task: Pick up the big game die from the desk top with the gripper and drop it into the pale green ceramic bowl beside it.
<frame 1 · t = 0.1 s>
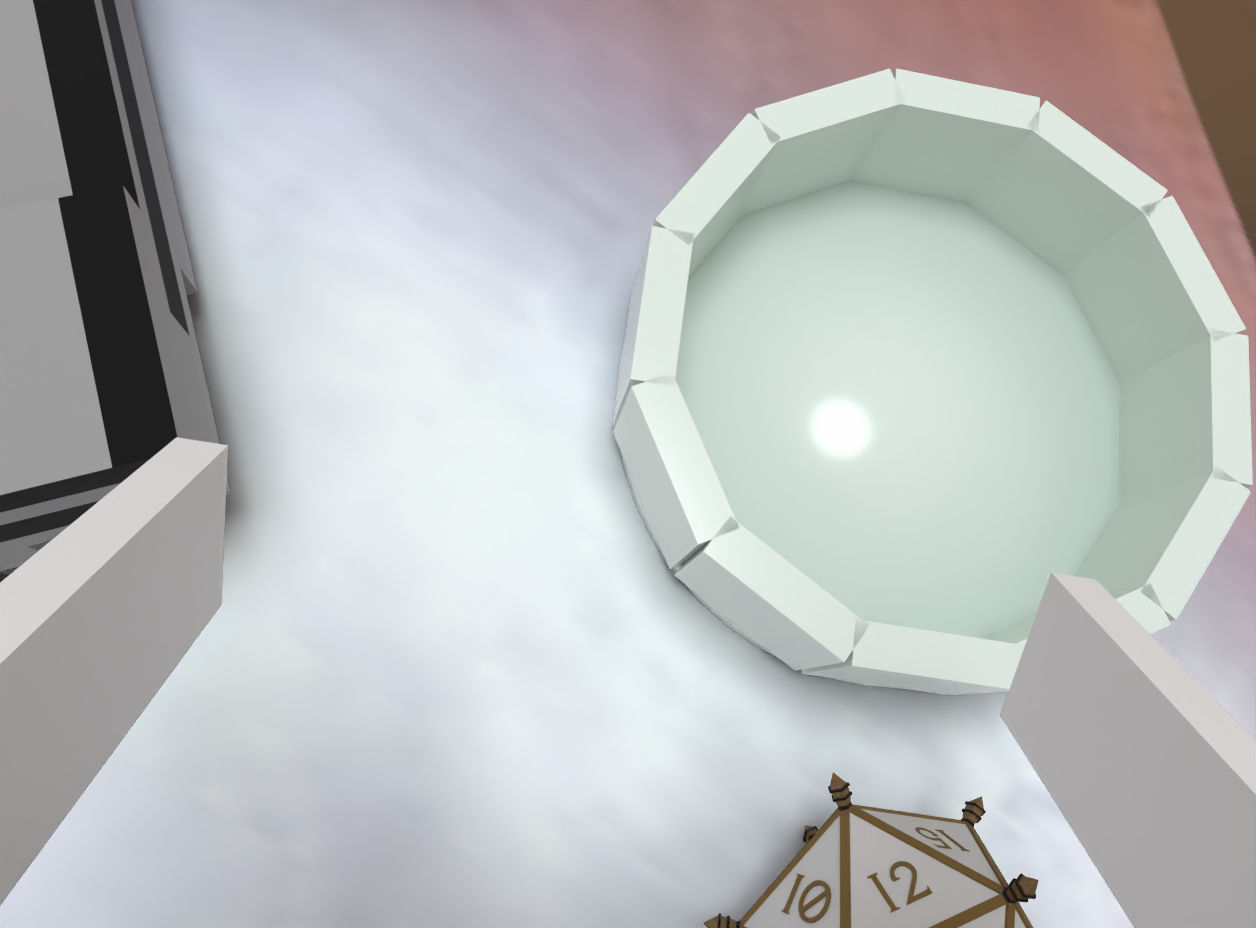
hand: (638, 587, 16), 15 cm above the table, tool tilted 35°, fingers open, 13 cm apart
game die: (843, 925, 30), on the table
bowl: (882, 413, 34), on the table
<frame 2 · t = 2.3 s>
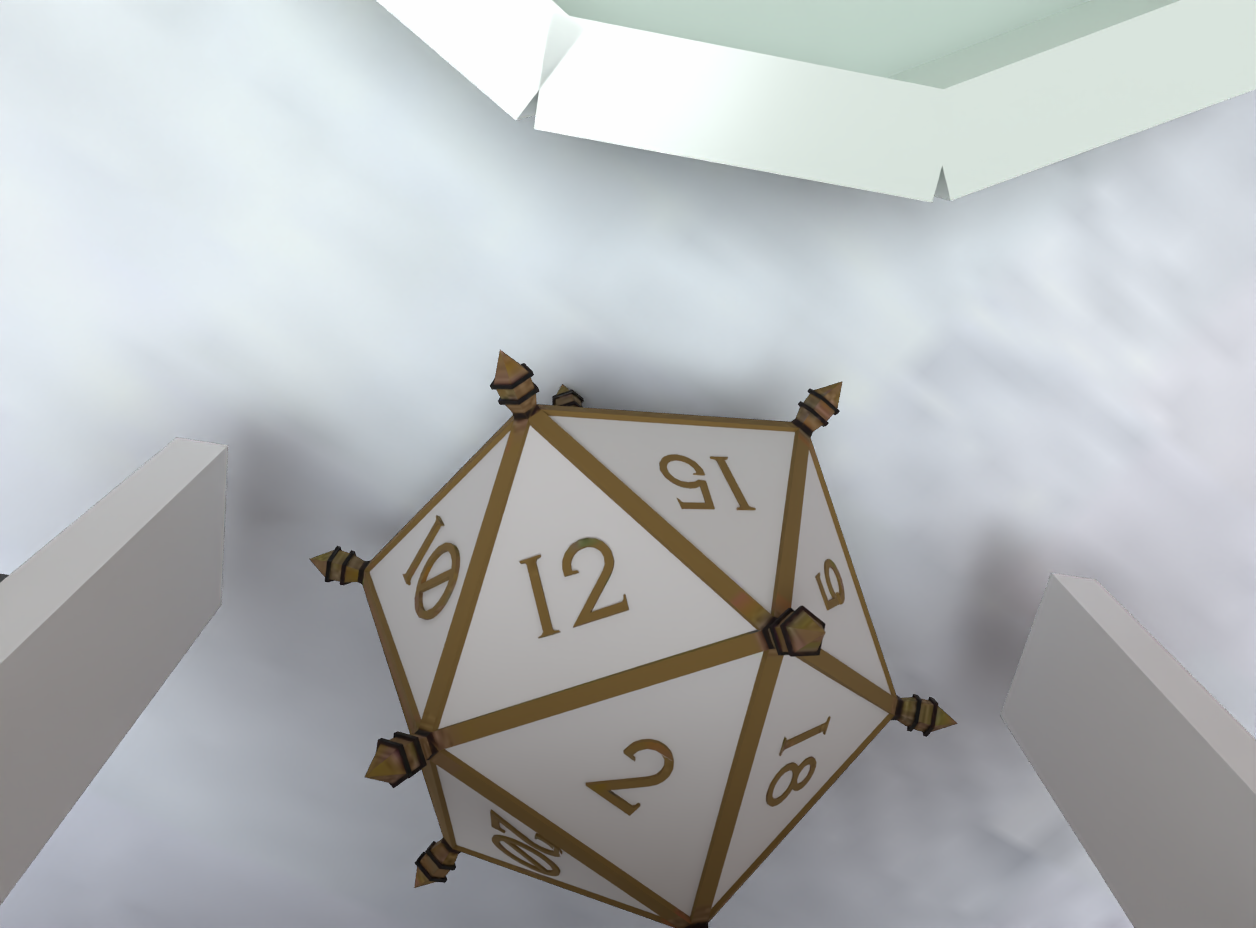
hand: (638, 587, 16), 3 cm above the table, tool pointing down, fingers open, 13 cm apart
game die: (617, 528, 19), on the table
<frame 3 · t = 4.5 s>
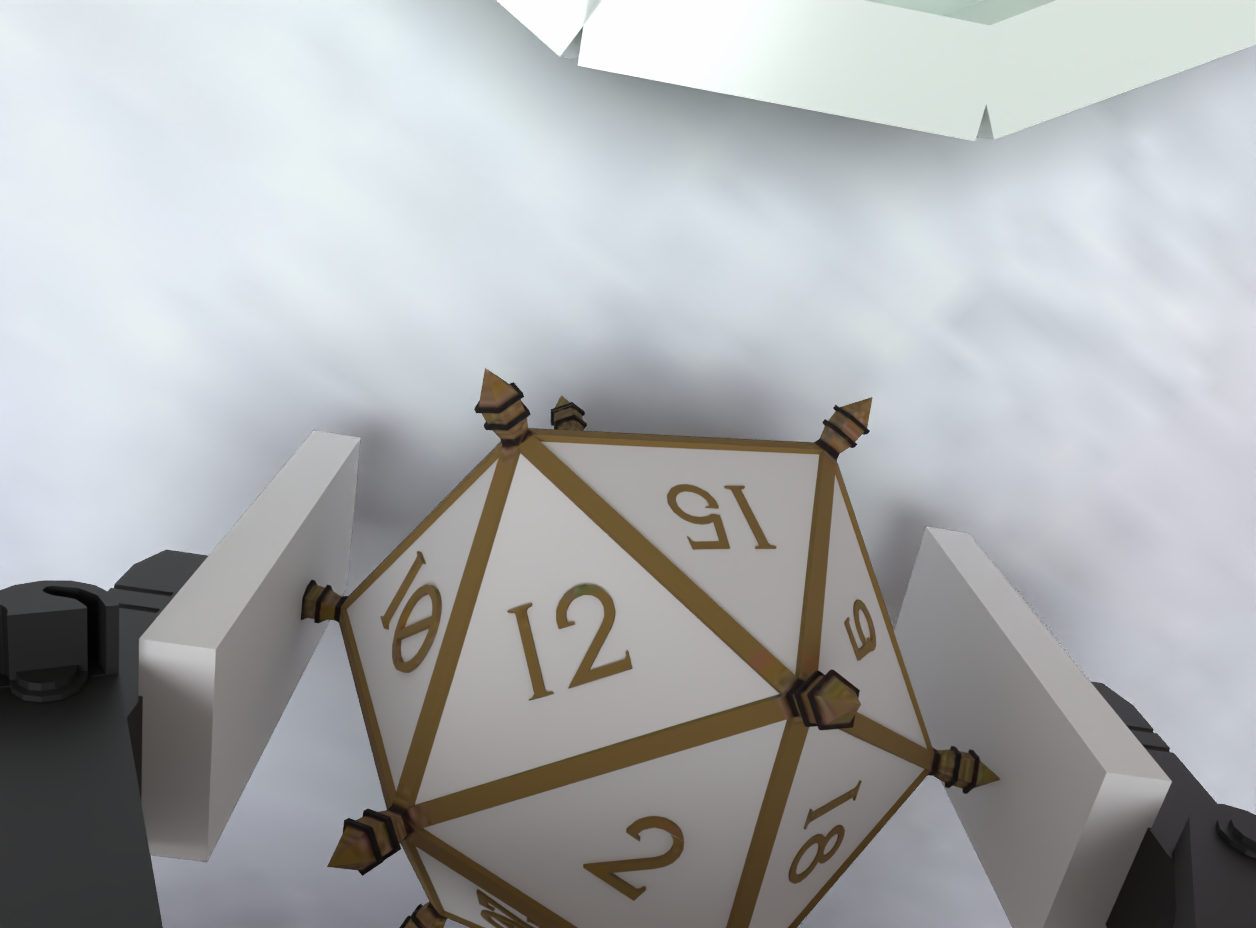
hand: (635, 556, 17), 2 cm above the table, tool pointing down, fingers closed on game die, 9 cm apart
game die: (623, 550, 18), point 2 cm above the table, touching gripper
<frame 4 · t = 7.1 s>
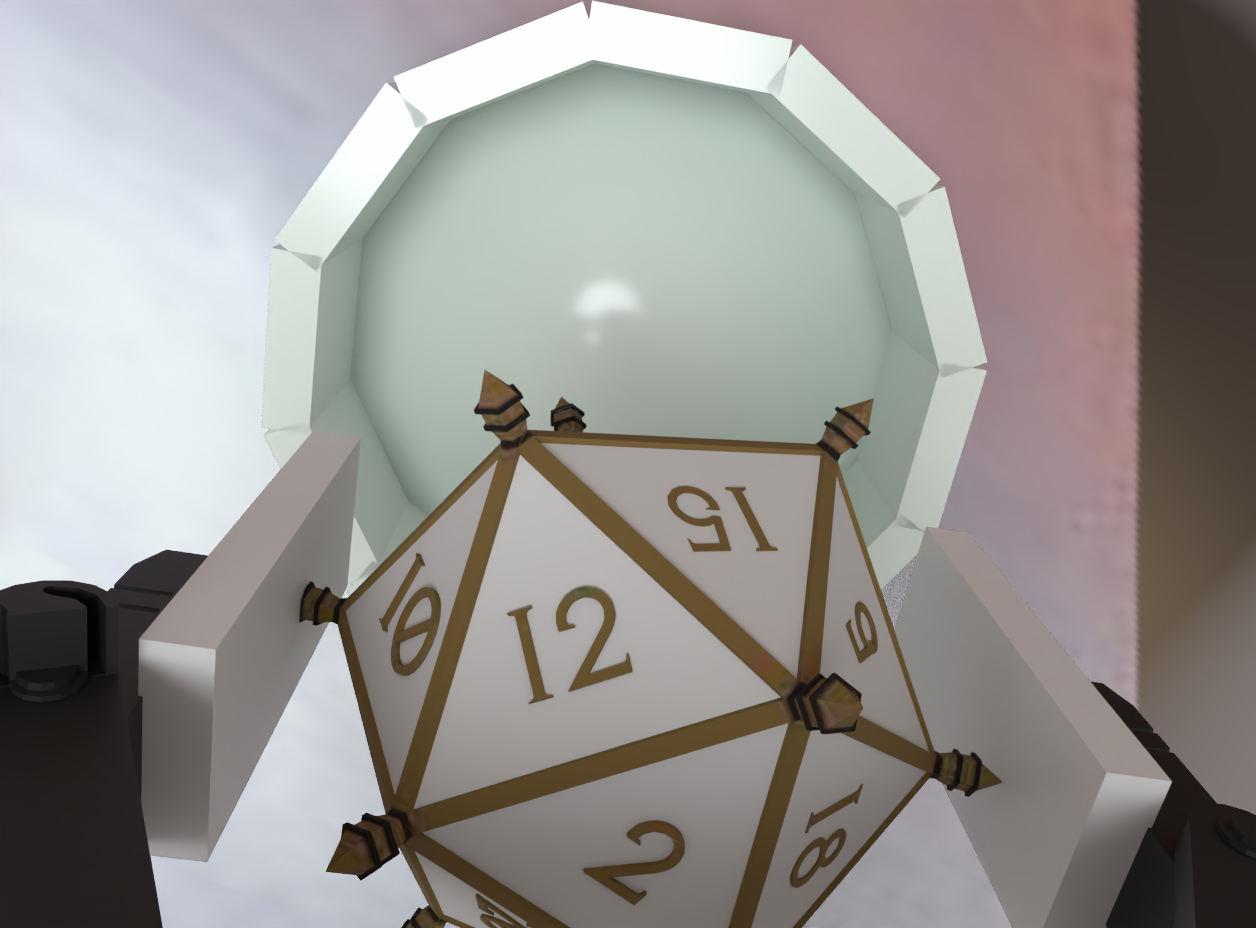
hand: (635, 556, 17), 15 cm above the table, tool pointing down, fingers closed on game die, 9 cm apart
game die: (623, 551, 17), point 14 cm above the table, touching gripper
bowl: (620, 347, 31), on the table
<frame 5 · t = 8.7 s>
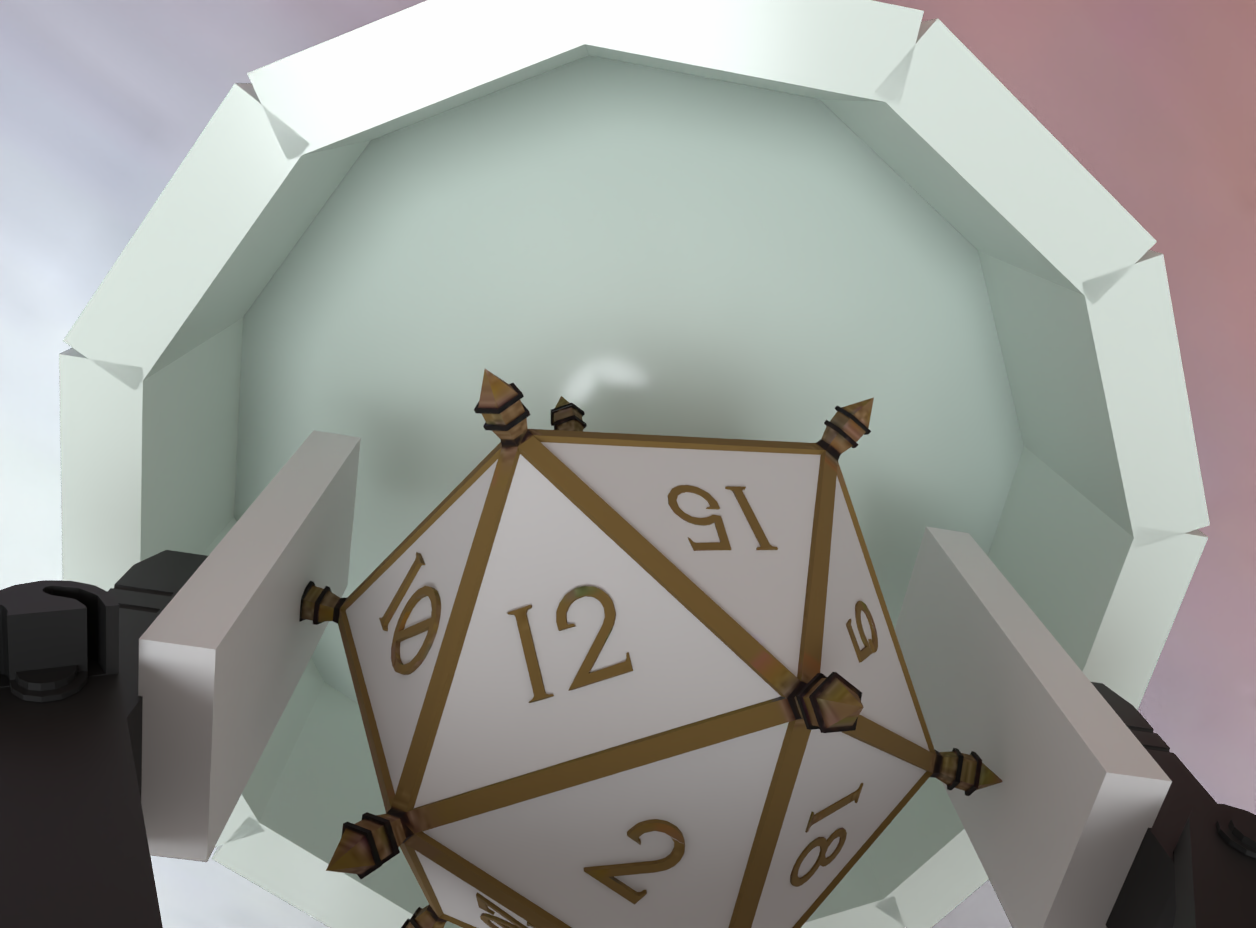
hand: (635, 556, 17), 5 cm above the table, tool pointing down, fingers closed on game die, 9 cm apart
game die: (623, 551, 17), point 4 cm above the table, touching gripper
bowl: (626, 464, 21), on the table
when the fingers open (4 cm above the table, at t = 9.9 s): game die drops 2 cm, resting on bowl.
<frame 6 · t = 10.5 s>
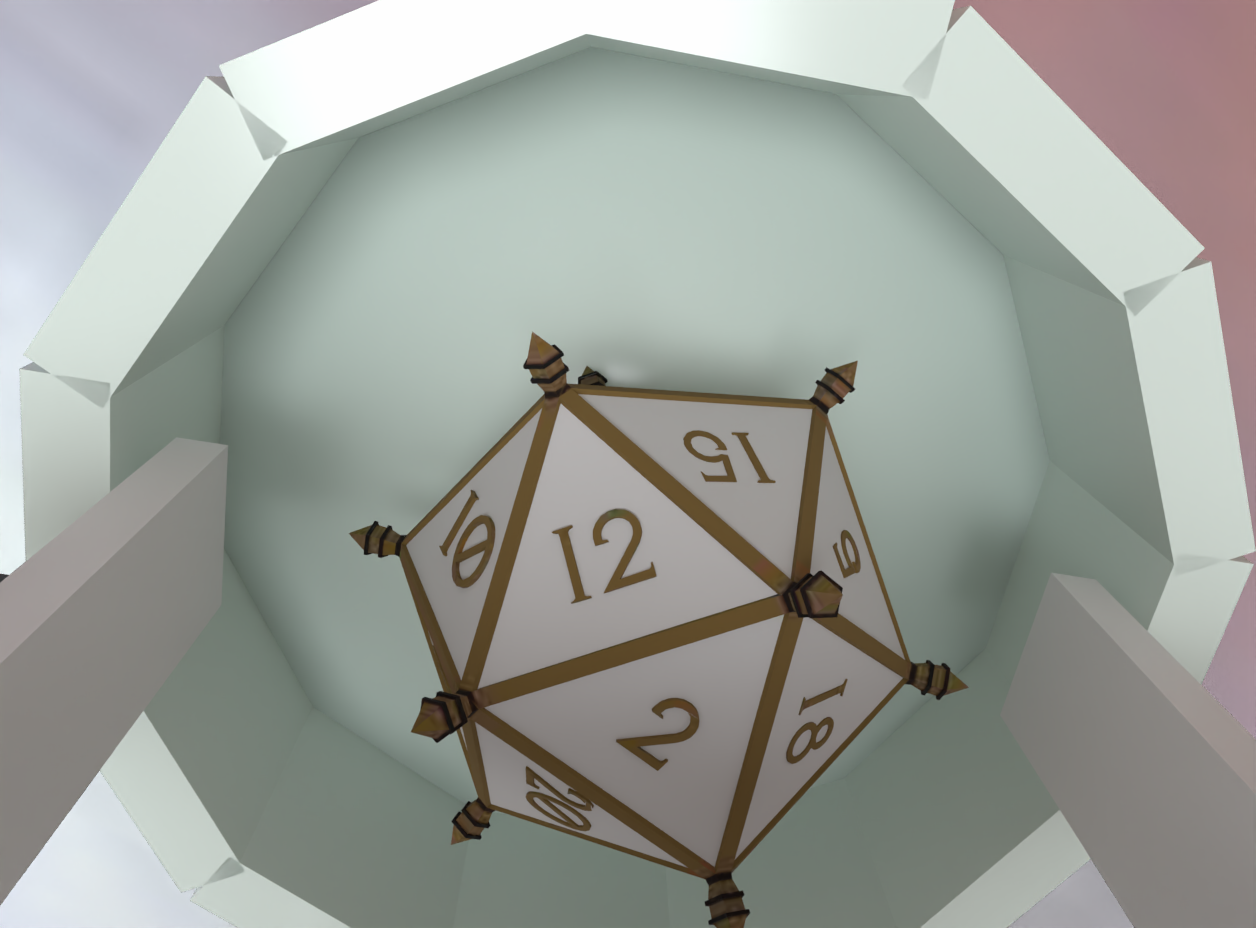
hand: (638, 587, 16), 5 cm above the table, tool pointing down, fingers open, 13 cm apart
game die: (640, 504, 20), point 1 cm above the table, touching bowl
bowl: (630, 478, 20), on the table
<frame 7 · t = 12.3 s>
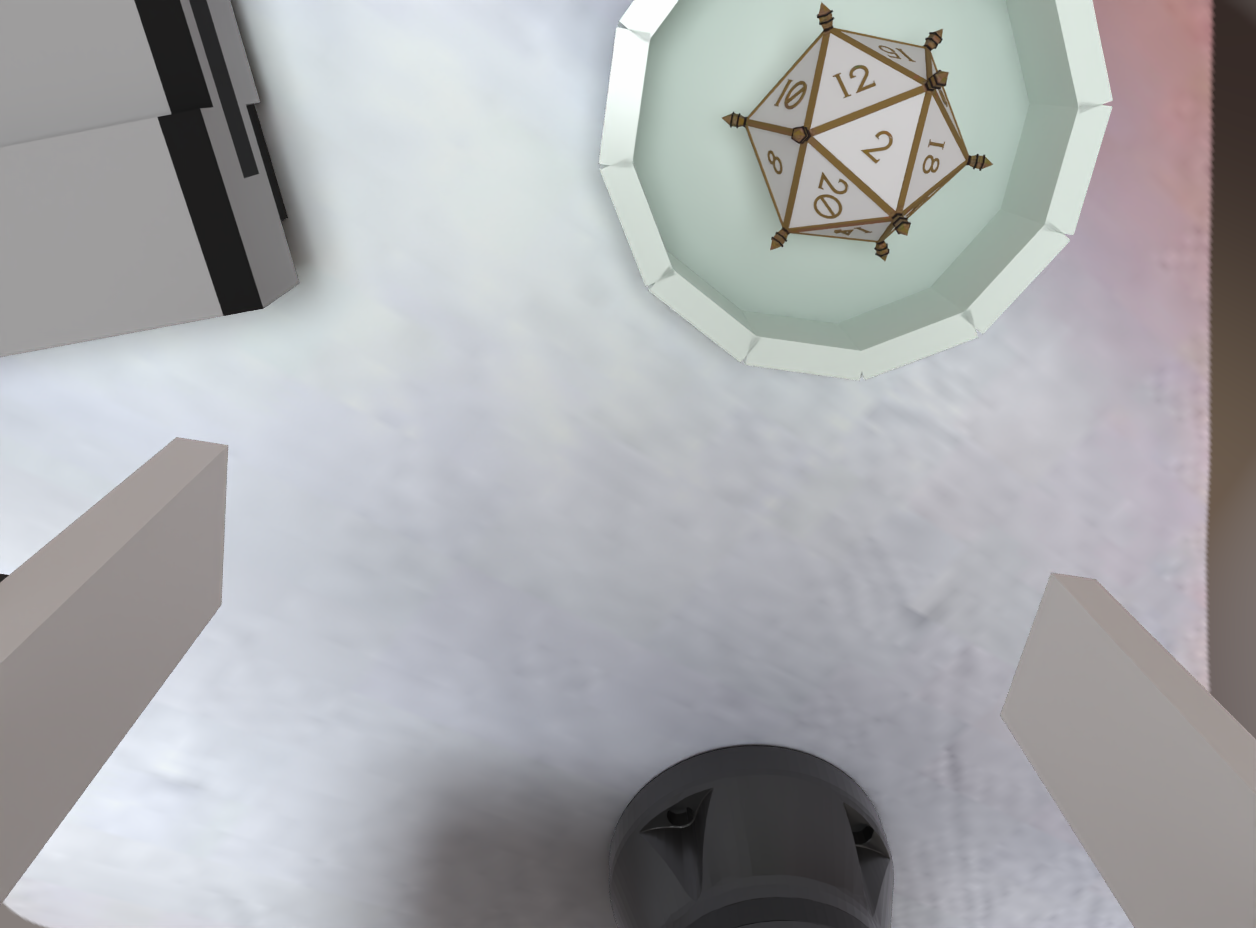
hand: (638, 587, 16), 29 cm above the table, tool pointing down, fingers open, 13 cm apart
game die: (831, 133, 41), point 1 cm above the table, touching bowl
bowl: (823, 126, 42), on the table
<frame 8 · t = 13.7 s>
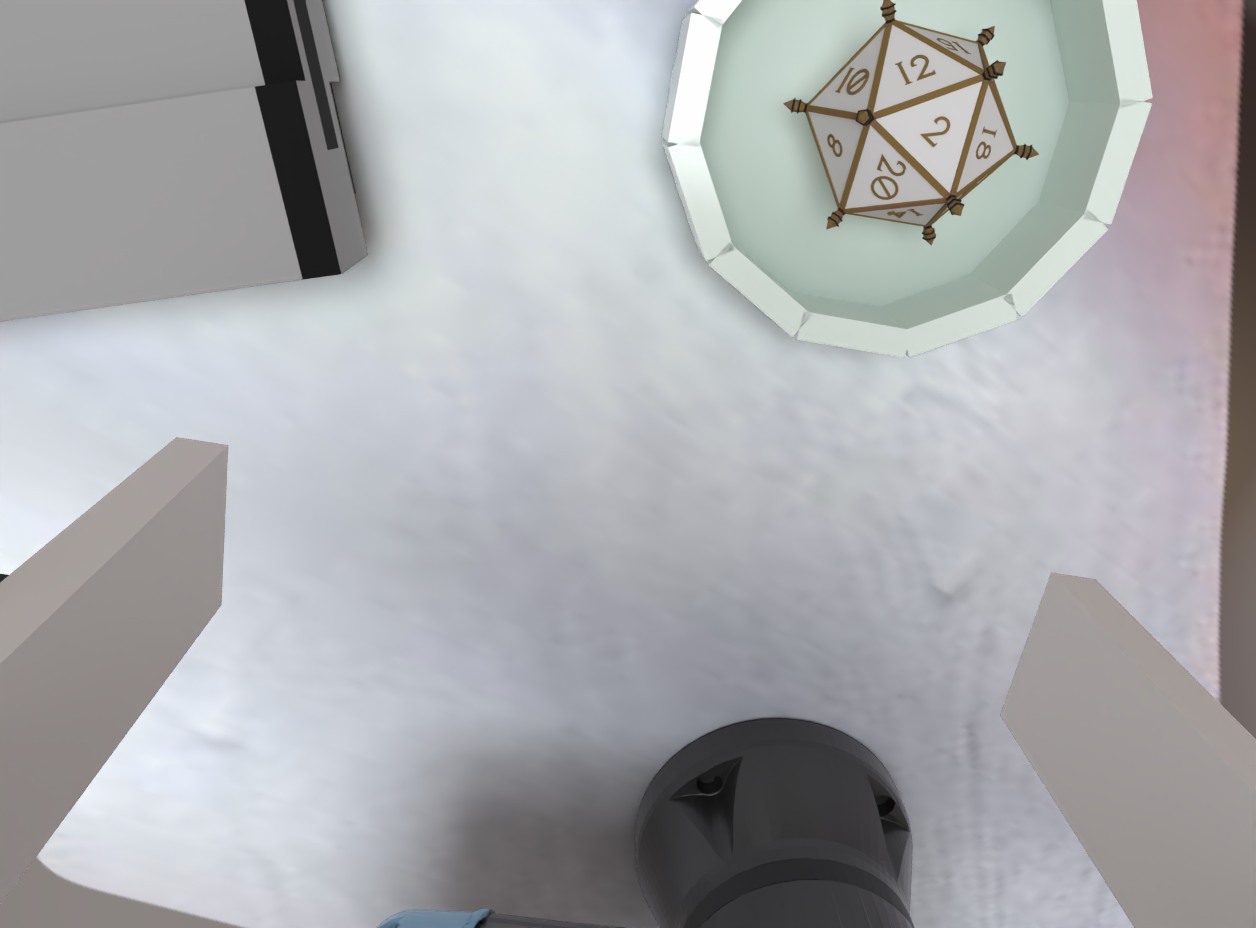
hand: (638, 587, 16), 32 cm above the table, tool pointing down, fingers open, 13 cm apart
game die: (881, 124, 43), point 1 cm above the table, touching bowl
bowl: (873, 118, 44), on the table
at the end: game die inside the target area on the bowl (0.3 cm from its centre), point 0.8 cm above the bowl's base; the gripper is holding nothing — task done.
